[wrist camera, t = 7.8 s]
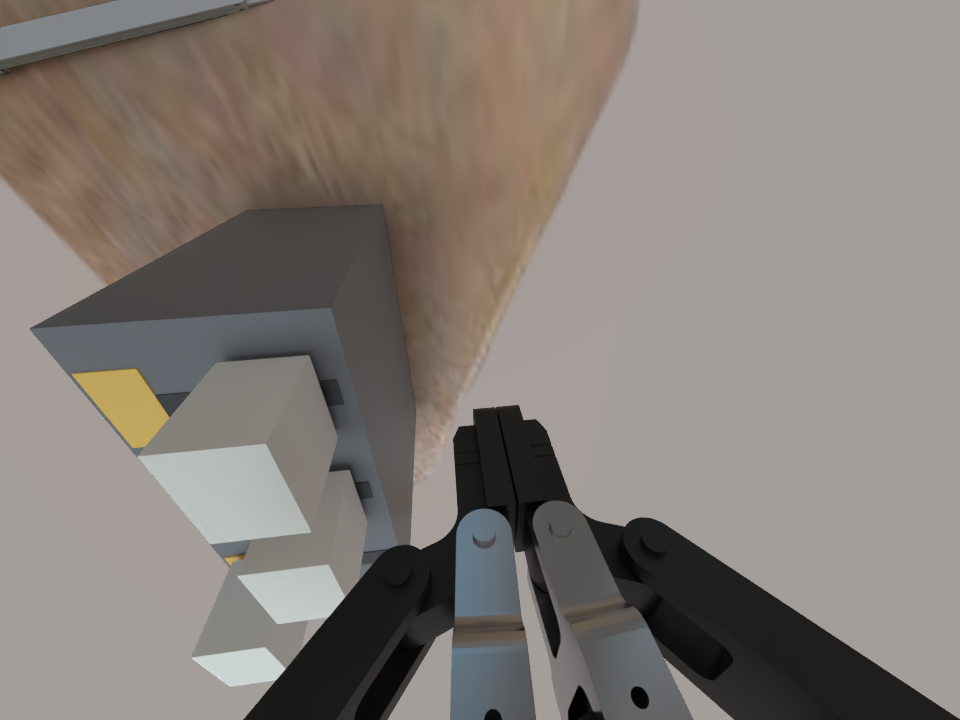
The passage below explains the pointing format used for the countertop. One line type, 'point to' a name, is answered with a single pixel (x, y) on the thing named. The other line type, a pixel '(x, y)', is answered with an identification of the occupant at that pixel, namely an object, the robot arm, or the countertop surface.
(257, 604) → the tab back
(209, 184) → the countertop surface
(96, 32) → the caliper
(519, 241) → the countertop surface
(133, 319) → the switch box
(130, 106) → the countertop surface
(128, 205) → the countertop surface
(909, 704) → the robot arm
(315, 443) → the tab front
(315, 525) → the tab middle
